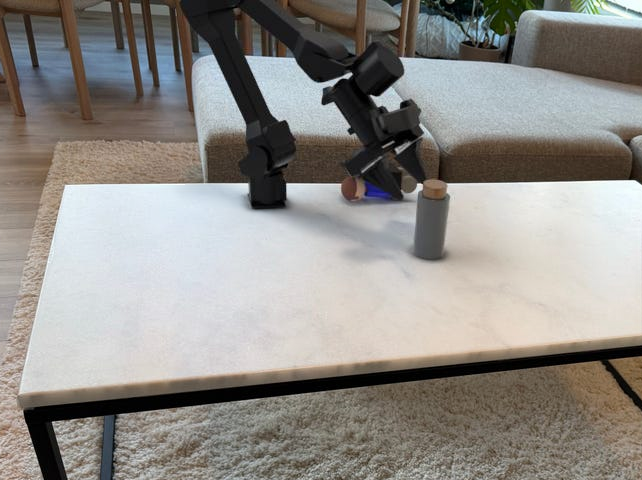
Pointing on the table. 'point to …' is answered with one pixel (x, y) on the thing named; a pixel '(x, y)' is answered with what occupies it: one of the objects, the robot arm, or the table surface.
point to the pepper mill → (431, 220)
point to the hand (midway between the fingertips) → (413, 190)
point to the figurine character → (357, 188)
